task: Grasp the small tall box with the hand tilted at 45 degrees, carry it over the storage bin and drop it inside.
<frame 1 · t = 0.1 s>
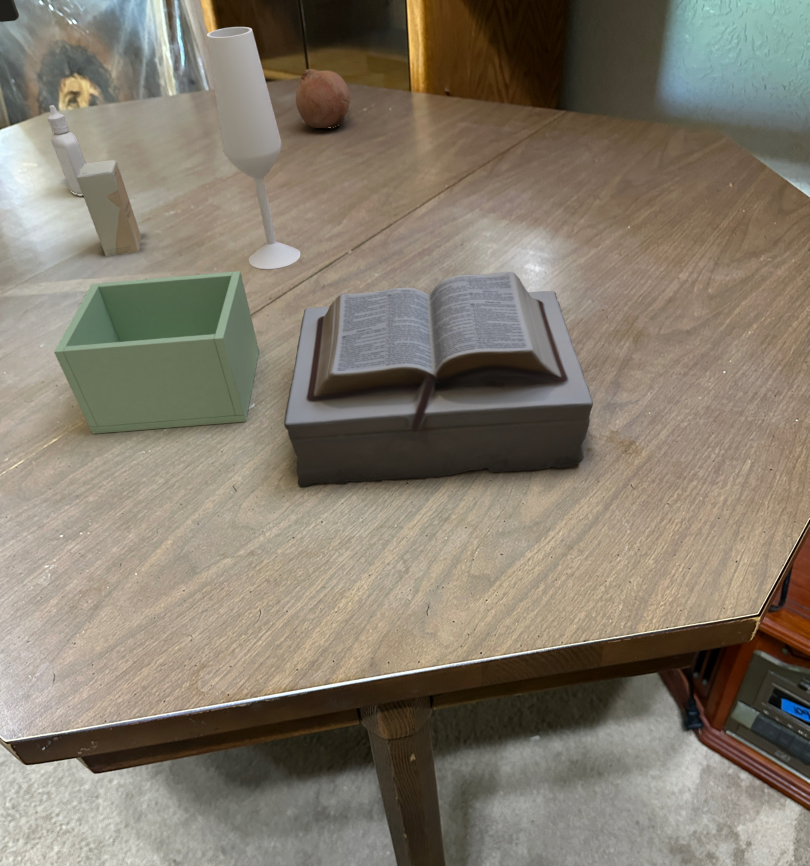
storage bin: (180, 390, 72), on the table
bible: (435, 413, 67), on the table
champagne flute: (274, 258, 92), on the table
pomegranate: (327, 128, 128), on the table
box: (127, 258, 95), on the table
eye dropper bottle: (83, 192, 114), on the table
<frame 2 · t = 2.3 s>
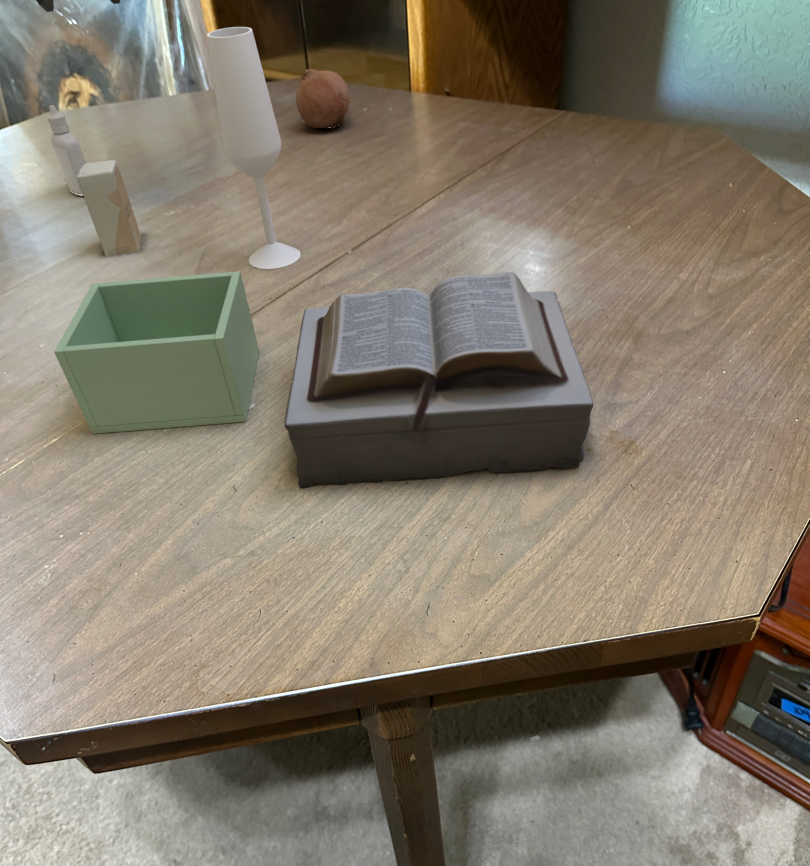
hand: (78, 3, 83), 26 cm above the table, tool tilted 40°, fingers open, 8 cm apart
nothing on the table moved.
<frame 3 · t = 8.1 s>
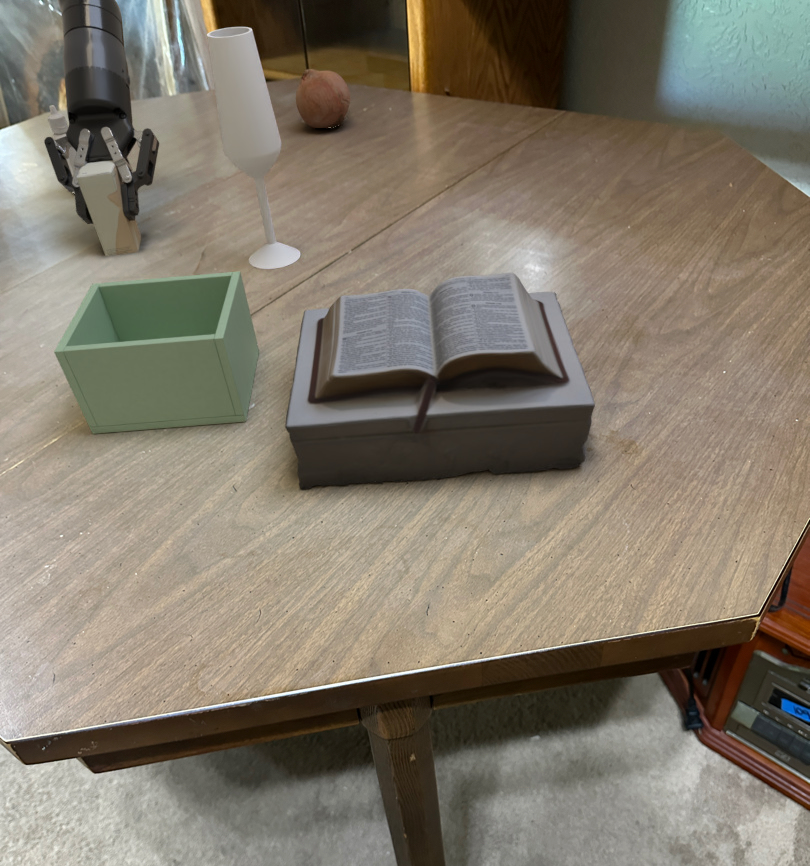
hand: (108, 219, 90), 6 cm above the table, tool tilted 45°, fingers closed on box, 4 cm apart
box: (127, 258, 95), on the table, touching gripper
everything else where it was.
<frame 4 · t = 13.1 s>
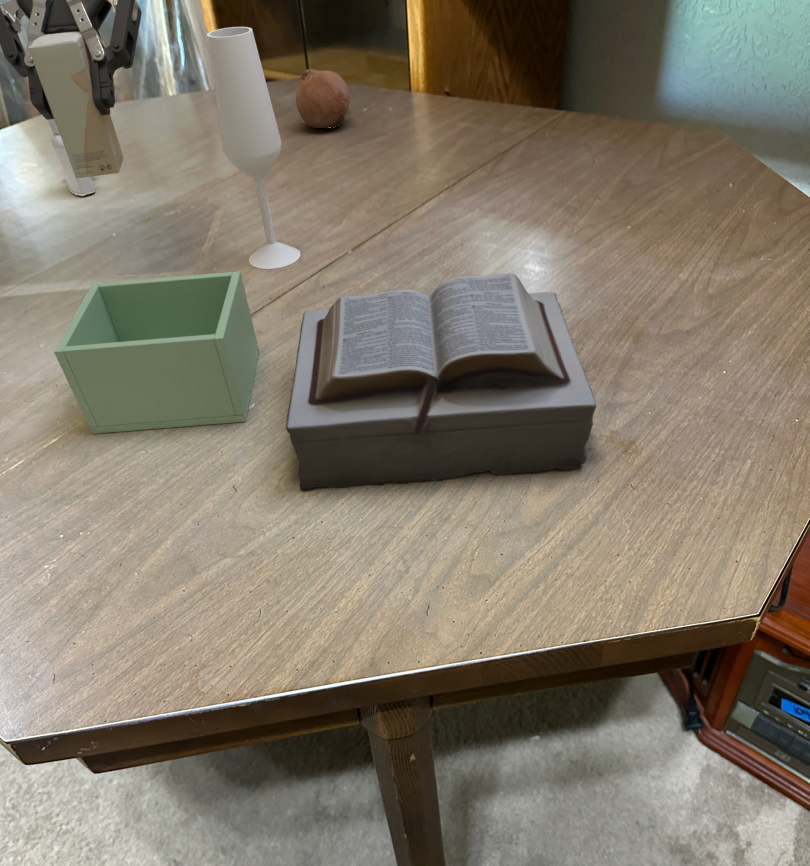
hand: (74, 111, 67), 21 cm above the table, tool tilted 45°, fingers closed on box, 4 cm apart
box: (101, 170, 73), point 16 cm above the table, touching gripper
everything else where it was.
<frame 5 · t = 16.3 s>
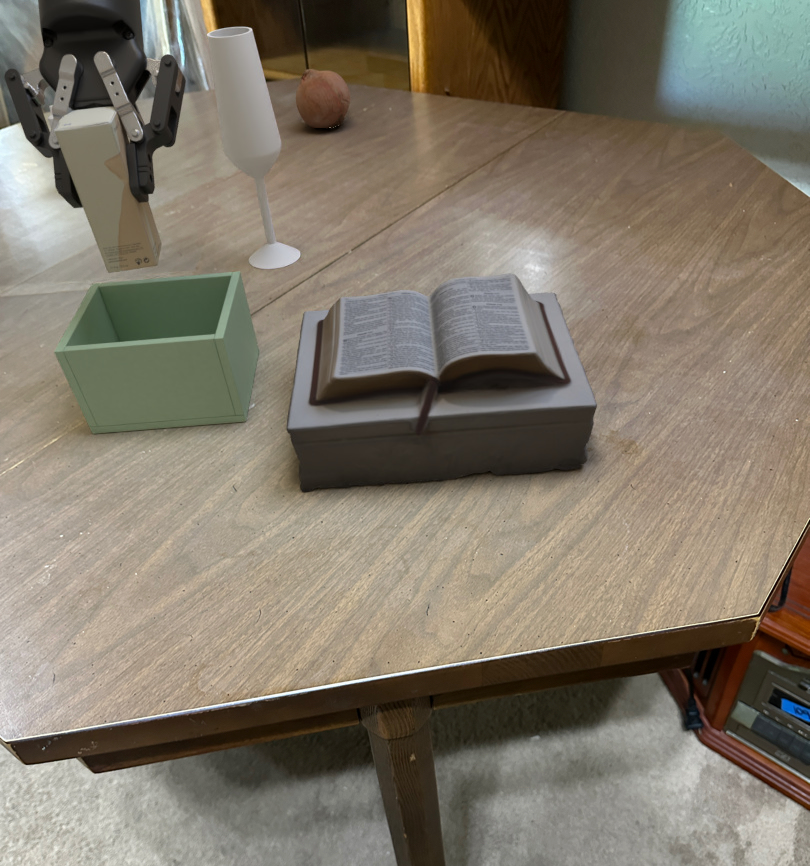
hand: (107, 199, 57), 19 cm above the table, tool tilted 45°, fingers closed on box, 4 cm apart
box: (136, 260, 63), point 13 cm above the table, touching gripper
everything else where it was.
when the fingers open (13 cm above the table, at t = 18.4 s): box drops 6 cm, resting on storage bin.
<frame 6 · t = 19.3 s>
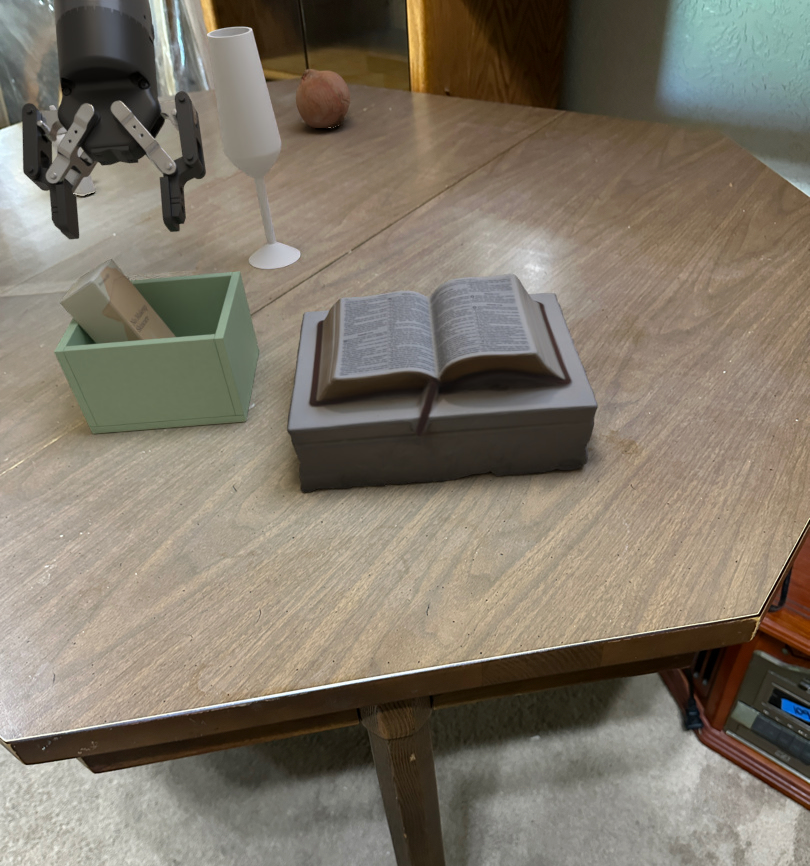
hand: (120, 231, 60), 16 cm above the table, tool tilted 45°, fingers open, 8 cm apart
box: (169, 377, 71), point 2 cm above the table, touching storage bin
everything else where it was.
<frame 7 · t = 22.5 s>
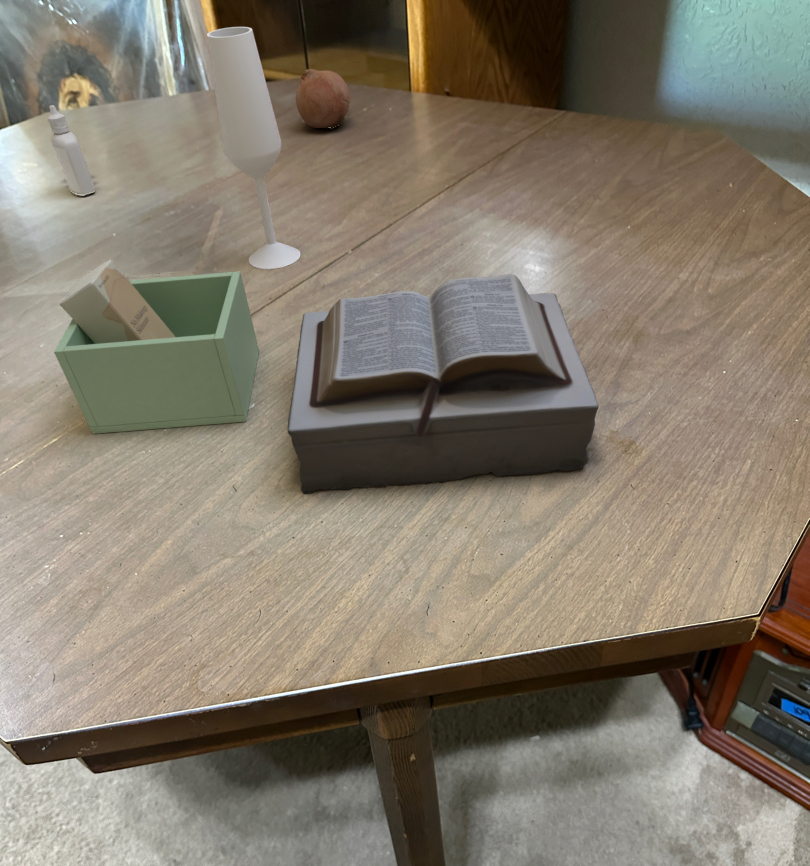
nothing on the table moved.
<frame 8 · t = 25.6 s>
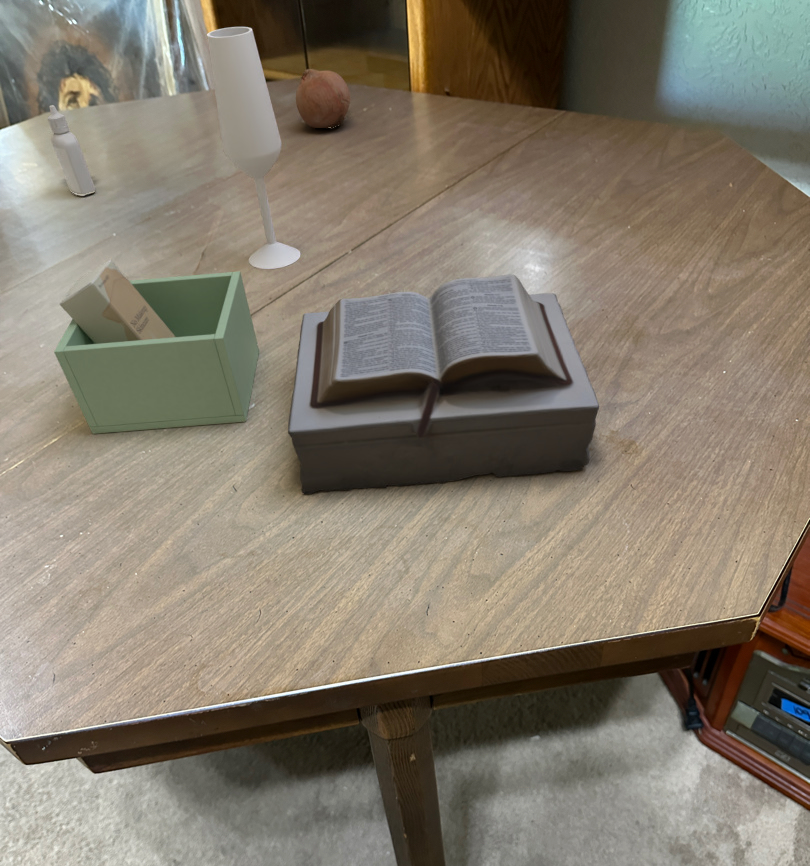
nothing on the table moved.
at the end: box inside the target area in the storage bin (0.6 cm from its centre), point 1.5 cm above the storage bin's base; the gripper is holding nothing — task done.
